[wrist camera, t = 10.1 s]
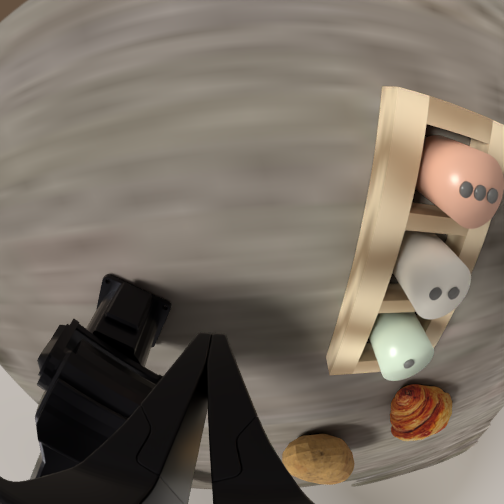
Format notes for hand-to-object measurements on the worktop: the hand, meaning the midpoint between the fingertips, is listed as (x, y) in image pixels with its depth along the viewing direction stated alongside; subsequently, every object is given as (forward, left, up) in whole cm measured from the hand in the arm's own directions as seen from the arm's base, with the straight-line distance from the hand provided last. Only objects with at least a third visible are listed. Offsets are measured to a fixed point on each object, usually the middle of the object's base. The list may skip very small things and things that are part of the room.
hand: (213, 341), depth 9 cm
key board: (+3, -15, -13) cm, 20 cm away
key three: (+10, -12, -13) cm, 20 cm away
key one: (-4, -18, -13) cm, 23 cm away
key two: (+3, -15, -13) cm, 20 cm away
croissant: (-15, -37, -14) cm, 42 cm away
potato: (-28, -27, -13) cm, 41 cm away
